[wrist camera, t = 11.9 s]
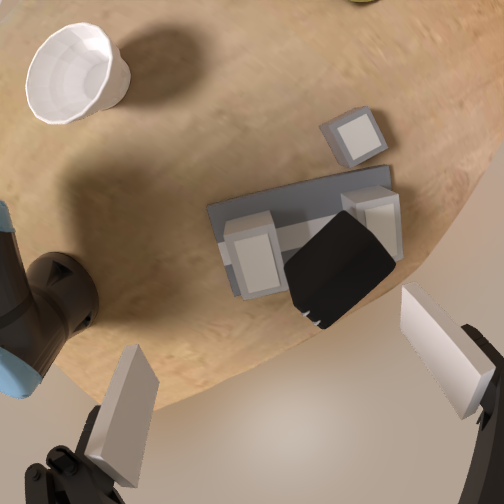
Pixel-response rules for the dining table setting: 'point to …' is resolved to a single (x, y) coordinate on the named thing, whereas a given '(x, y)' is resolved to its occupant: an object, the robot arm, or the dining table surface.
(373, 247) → the electronic device
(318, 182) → the board
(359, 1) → the plastic component
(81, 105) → the cup
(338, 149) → the module
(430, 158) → the dining table surface
